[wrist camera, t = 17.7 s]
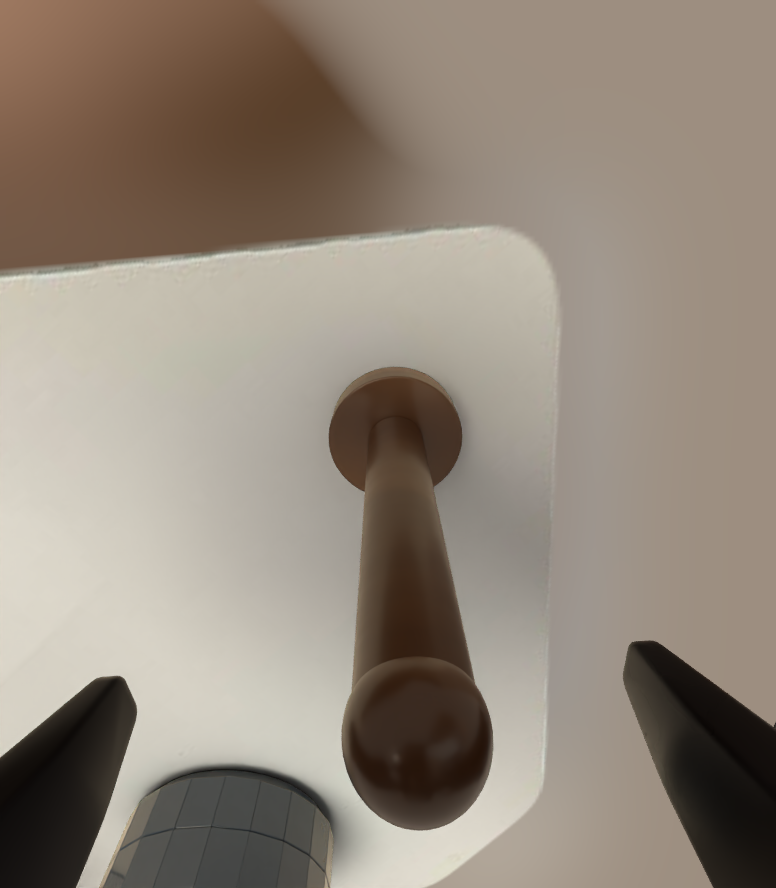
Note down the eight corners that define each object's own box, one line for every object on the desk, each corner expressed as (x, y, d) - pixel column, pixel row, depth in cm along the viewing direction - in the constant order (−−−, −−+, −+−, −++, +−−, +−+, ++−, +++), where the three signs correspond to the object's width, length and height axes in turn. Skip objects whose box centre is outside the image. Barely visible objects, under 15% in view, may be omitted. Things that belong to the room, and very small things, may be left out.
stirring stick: (448, 486, 17) (566, 916, 6) (330, 478, 17) (237, 910, 6) (465, 371, 15) (677, 695, 4) (333, 361, 15) (209, 675, 4)
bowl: (344, 869, 28) (337, 991, 23) (166, 879, 28) (125, 1002, 24) (319, 757, 23) (304, 881, 19) (107, 770, 24) (42, 896, 19)
